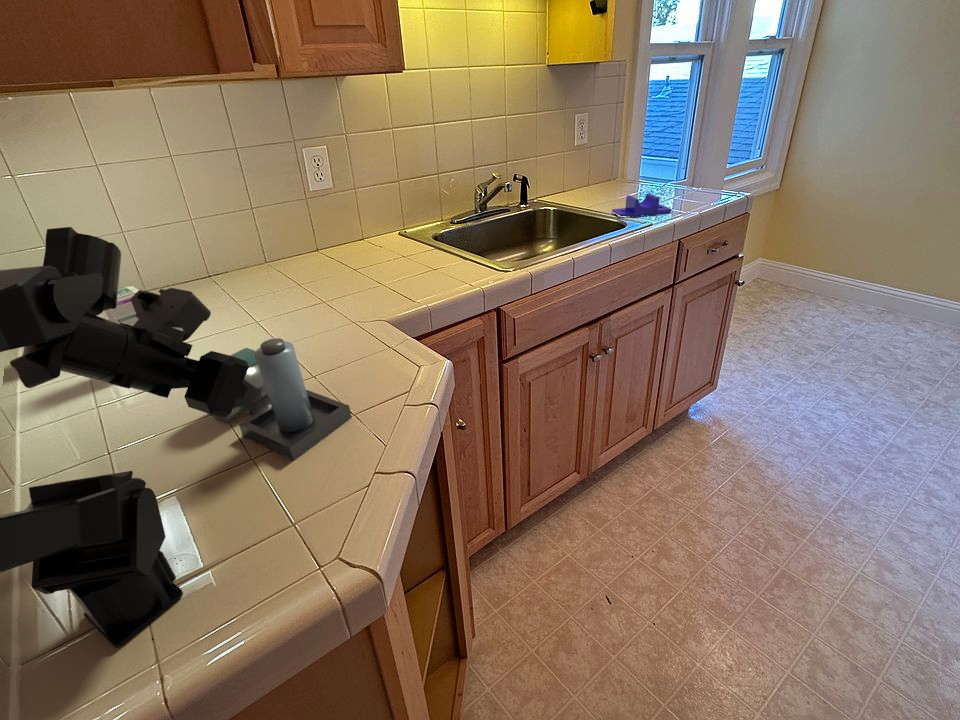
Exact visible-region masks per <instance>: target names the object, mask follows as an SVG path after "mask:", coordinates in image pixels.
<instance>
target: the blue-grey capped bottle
mask: <svg viewBox="0 0 960 720" xmlns="http://www.w3.org/2000/svg"><path fill="white" fill-rule="evenodd" d="M255 351H256V352H255V358H256V361H257V364H258V367H259V370H260V373H261V376H262V379H263V382H264V385H265V388H266V391H267V394H268V397H269V400H270V402H271V405H272V408H273V411H274V414H275V417H276V420H277V423H278V426H279V429H280V430H282V431H285V432H295V431H299V430H301V429H304V428H306V427H307V426H309V425H310V424H311V423H312V421H313V419H314V416H313V413H312V409H311V406H310V402H309V399H308V395H307V392H306V390H307V389H306V386H305V382H304V378H303V375H302V372H301V368H300V364H299V362H298V361H299V360H298V358H297V354H296V350H295V347H294V344H293V343H292V342H290V341H284V339H283V338H280V337H279V338H270V339H267V340H264V341H263V342H261V344H260V347H259V348H258V349H256V350H255Z"/></svg>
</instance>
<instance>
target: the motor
mask: <svg viewBox="0 0 960 720" xmlns="http://www.w3.org/2000/svg"><path fill="white" fill-rule="evenodd" d="M256 351H257V350H254V349H252V348H248V347H245V348H242V349H241V350H238V351H237V352H235V353H232V354H231V355H230V356H234V357H236V358H239V359H242V360H244V361H247V363H248V367H249V368H248V370H247V373H246V376H245V378H244V379H245V380H246V381H247V382H249V383H250V384H251V385H253V386H254V387H255V388H257V389H258V390H259V391H261V392H262V395H261V398H260V400H259V401H257V402H253V403H250V404H247V405H243V406H240V407H237V408H234V409H232V412H231V414H229V415H228V416H227V417H220V416H216V415H212V414H209V415H210V416H211V417H212V418H213V419H215V420H216V421H217V422H219V423H222V424H226V423H228V422H229V421H231V420H233V419H234V418H236V417H237V416H239V415H241V414H243V413H245V412H246V411H248V413H249V416H250V417H248V418H247V419H245V420H243V421H242V422H240V423H238V426H239V429H240V431H241V434H242V437H244V438H246V439H248V440H250V441H252V442H253V443H256V444H258V445H260V446H262V447H265V448H267V449H269V450H270V451H273V452H275V453H278V454H279V455H281V456H283V457H285V458H288V459H289V460H292V461H295V460H296V459H297V458H299V457H300V456H301V455H303V454H304V453H306V452H307V451H309V450H310V449H311V448H313V447H314V446H315V445H317V444H318V443H319V442H321V441H323V439H324V438H326V437H328V436H329V435H330V434H331V433H333V432H335V430H337V429H338V428H340V427H341V426H342V425H344V424H345V423H346V422H348V420H350V419H351V418H352V413H351V408H350V405H349V404H346V403H344V402H341V401H338V400H336V399H333V398H330V397H327V396H325V395H322V394H319V393H317V392H314V391H311V390H308V389H306V392H307V395H308V399H309V402H310V406H311V409H312V413H313V416H314V419H313V421H312V423H311V424H310V425H309V426H307V427H306V428H304V429H301V430H299V431H295V432H285V431H282V430H280V429H279V426H278V423H277V420H276V417H275V414H274V411H273V408H272V405H271V402H270V400H269V397H268V394H267V391H266V388H265V385H264V382H263V379H262V376H261V373H260V370H259V367H258V364H257V361H256V358H255V352H256Z"/></svg>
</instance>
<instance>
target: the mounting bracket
mask: <svg viewBox="0 0 960 720" xmlns="http://www.w3.org/2000/svg"><path fill="white" fill-rule="evenodd" d="M625 196H626V197H625V207H622V208H613V209H611V213H612V212H614V213H616V214H618V215H620V216H639V217H643V216H642V215H650V216H657V215H656V214H660V215H668V214H669V213H671V214H672V208H671V207H668V206H666V205H663V204H660V197H659V196H657V195H654V194H653V193H646V194H645V197H644V199H643V200H641V202H640V199H638V198H637V197H635V196H633V195H631V194H628V195H625ZM640 215H641V216H640ZM669 215H670V214H669Z"/></svg>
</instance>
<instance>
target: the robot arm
mask: <svg viewBox="0 0 960 720" xmlns="http://www.w3.org/2000/svg"><path fill="white" fill-rule="evenodd" d="M121 263H122V252H121V250H120V249H119V246H117V245H116V244H115V243H114V242H109V241H107V240H105V239H103V238H100V237H98V236H94V235H90V234H85V233H78V232H77V231H76V230H75V229H74V228H73V227H72V226H64V227H55V228H48V229H46V234H45V252H44V257H43V263H42V265H40V266H30V267H20V268H8V269H0V353H2V352H6V351H11V350H16V349H20V348H23V352H22V355H21V356H19V357H16V358H13V359H11V360H10V361H9V365H10V366H11V367H12V368H13V369H14V370H15V371H16V372H17V375H18V378H19V380H20V381H21V383H22V384H23V386H24V387H25V388H26V389H32V388H33V389H34V388H35V387H37V386H40V385H43V384H44V383H47V382H50V381H52V380H55V379H58V378H59V377H60V376H61V372H64V373H69V374H73V375H77V376H81V377H84V378H89V379H93V380H97V381H101V382H105V383H108V384H111V385H113V386H117V387H121V388H125V389H128V390H129V389H130V388H131V389H135V390H139V391H141V392H145V393H148V394H152V395H156V396H158V397H162V398H166V399H168V398H169V396H170V393H171V391H172V389H173V390H174V389H186V388H187V390H186V392H185V394H184V396H183V397H184V399H185V401H186V404H187V407H188V408H191V409H193V410H197V411H199V412H203V413H206V414H209V415H210V414H212V415H216V416H220V417H227V416H228V415H229V414H231V412H232V409H234V408H237V407H240V406H243V405H247V404H250V403H253V402H257V401H259V400H260V398H261V395H262V392H261V391H259V390H258V389H257V388H255V387H254V386H253V385H251V384H250V383H249V382H247V381H246V380H245V379H244V378H245V376H246V373H247V370H248V368H249V367H248V363H247V361H244V360H242V359H239V358H236V357H234V356H230V355H229V354H225V353H222V352H217V351H213V350H210V351H208V352H206V353H204V354H203V355H201V356H200V357H199V359H198V360H197V359H193V358H189V357H187V356H189V355H190V353H191V351H192V348H193V344H191V343H188V342H186V341H188V339H190V337H192V335H193V334H194V333H195V332H196V331H197V330H198V329H199V328H200V326H201V325H202V324H203V323H204V322H207V321H208V320H209V318H210V317H211V313H212V312H211V310H210V309H209V308H208V307H207V306H206V305H205V304H204V303H203V302H202V301H201V300H200V299H199V298H198V297H197V296H196V295H195V294H194V293H193V292H192V291H190V290H184V289H180V288H174V287H170V288H169V287H168V288H167V289H163V288H160V289H159V290H158V292H159V294H157V293H154V292H151V291H146V290H143V289H142V290H141V289H138V290H139V291H138V292H137V293H136V294H135V295H134V296H133V297H132V298H131V302H132V305H133V307H134V310H135V312H136V315H135V316H136V317H137V318H138V321H137V322H136V323H135V324H134V325H133V326H131V325H128V324H124V323H120V324H118V323H115V322H112V321H110V320H109V319H106V318H105V317H104V318H105V319H104V318H101V317H98V316H97V315H99V314H101V313H102V314H103V312H105V310H108V309H115V308H116V305H117V295H118V288H119V284H120V273H121V272H120V271H121ZM133 475H134V473H133V470H128V471H121V472H116V473H109V474H104V475H96V476H90V477H84V478H78V479H72V480H65V481H58V482H55V483H47V484H41V485H36V486H29V487H28V492H29V497H30V502H29V504H28V506H27V507H26V508H25V509H23V510H19V511H14V512H9V513H4V514H0V574H1V573H4V572H6V571H10V570H13V569H15V568H19V567H21V566H23V565H27V564H30V563H32V573H31V574H32V576H31V588H32V589H33V590H35V591H38V592H39V593H42V594H45V595H50V594H54V593H56V592H61V591H65V590H66V591H67V590H69V592H70V593H71V594H72V596H73V597H74V598H75V600H76V601H77V603H78V604H79V605H80V607H81V608H82V610H83V611H84V612H83V617H84V618H85V619H86V621H88V622H89V623H90V624H91V625H92V627H94V628H95V629H96V630H97V632H99V634H101V636H103V637H104V638H105V640H106V641H108V642H109V643H110V645H112V647H114V648H115V649H117V648H120V647H122V646H124V645H125V644H126V643H127V642H128V641H130V640H131V639H132V638H133V637H134V636H135V635H137V634H138V633H139V632H140V631H142V630H143V629H145V627H147V626H148V625H149V624H150V623H152V622H153V621H154V620H155V619H157V618H158V617H159V616H160V615H161V614H163V613H164V612H165V611H166V610H167V609H168V608H169V607H172V605H173V604H174V603H176V602H177V601H178V600H179V599H180V598H182V596H183V594H184V591H183V590H182V588H180V587H179V586H178V585H176V584H175V581H176V578H177V577H176V574H175V572H174V570H173V569H172V567H171V565H170V564H169V562H168V560H167V558H166V556H165V554H164V552H163V551H162V550H161V548H162V546H163V544H164V542H165V540H166V533H165V527H164V525H163V520H162V516H161V511H160V508H159V504H158V499H157V496H156V494H155V492H154V491H153V489H151V488H150V487H146V485H147V483H146V481H145V480H144V479H142V478H140V477H133Z"/></svg>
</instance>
